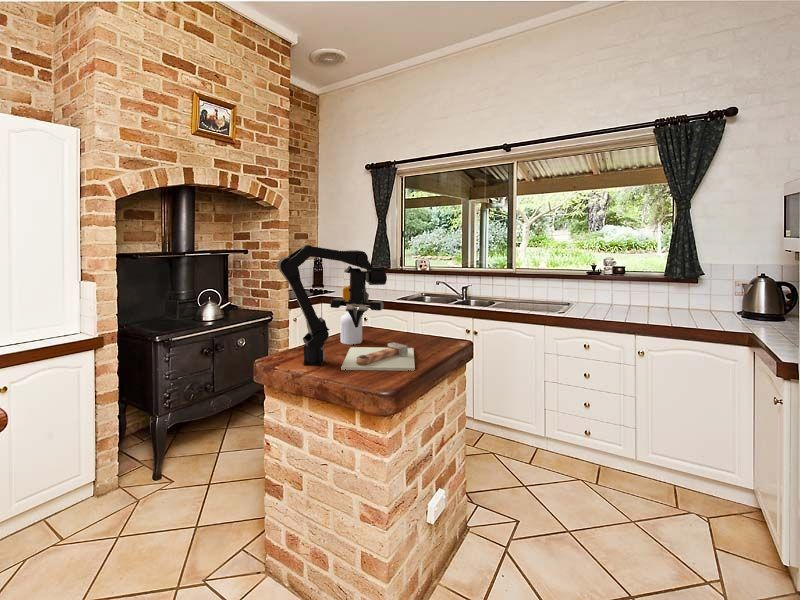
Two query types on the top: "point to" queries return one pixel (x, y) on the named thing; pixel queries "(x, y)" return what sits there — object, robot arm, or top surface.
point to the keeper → (400, 348)
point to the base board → (383, 364)
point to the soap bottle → (349, 325)
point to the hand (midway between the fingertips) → (356, 327)
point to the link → (376, 356)
